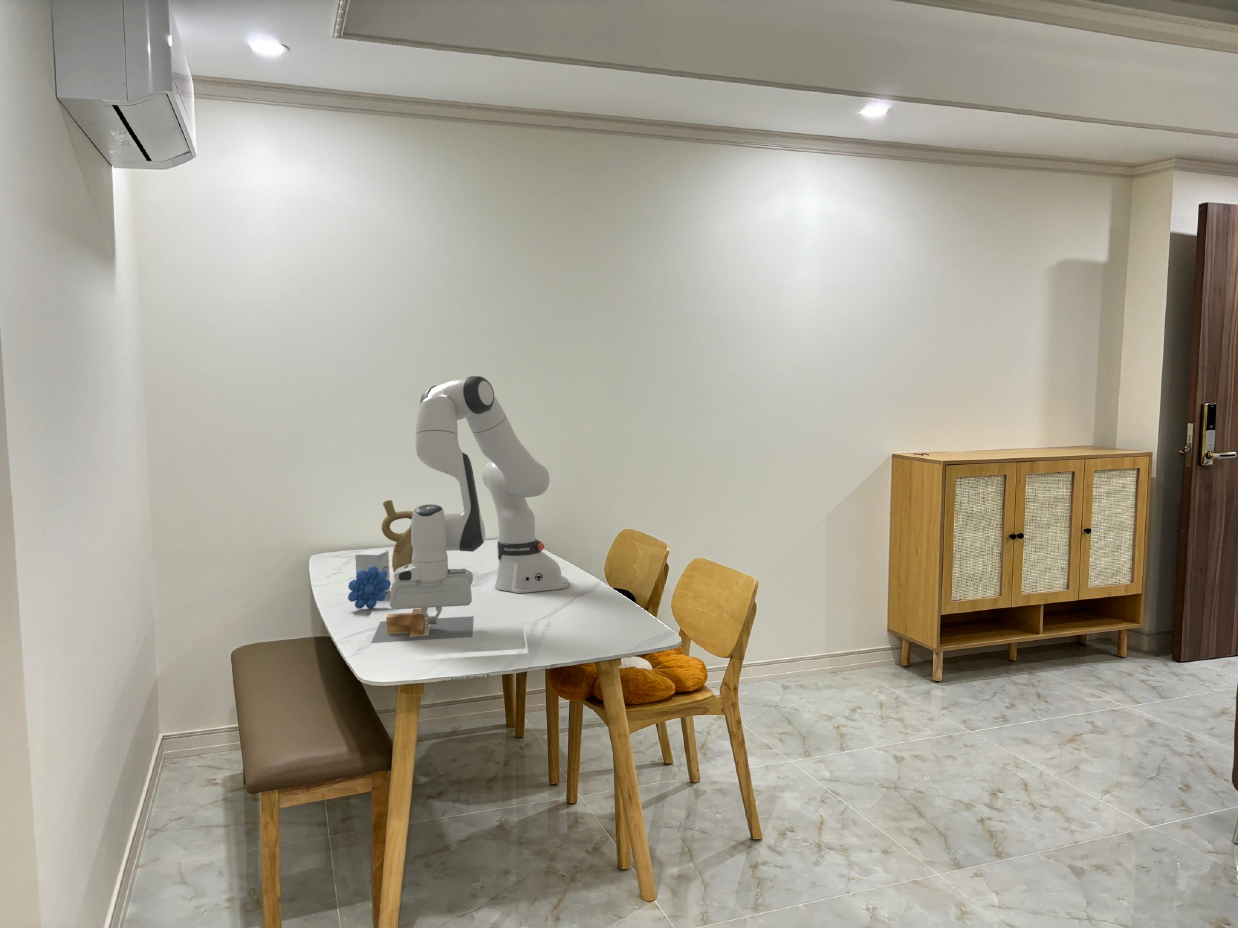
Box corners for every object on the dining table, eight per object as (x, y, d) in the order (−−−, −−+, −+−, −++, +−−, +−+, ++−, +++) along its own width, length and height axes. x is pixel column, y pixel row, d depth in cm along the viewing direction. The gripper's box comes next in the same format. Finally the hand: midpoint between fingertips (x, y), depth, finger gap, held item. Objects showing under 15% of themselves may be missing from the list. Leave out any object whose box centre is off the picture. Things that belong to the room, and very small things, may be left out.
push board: (473, 619, 227) (473, 616, 227) (472, 640, 209) (472, 636, 209) (380, 625, 223) (380, 621, 223) (371, 646, 205) (371, 642, 205)
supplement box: (379, 597, 251) (377, 555, 250) (356, 596, 253) (354, 554, 251) (391, 590, 259) (389, 549, 257) (368, 589, 260) (366, 549, 259)
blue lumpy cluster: (390, 602, 245) (388, 561, 244) (392, 608, 239) (390, 566, 238) (347, 606, 241) (345, 565, 240) (348, 613, 235) (346, 570, 234)
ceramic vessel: (449, 576, 276) (446, 500, 273) (386, 583, 268) (383, 504, 266) (440, 565, 291) (437, 493, 289) (380, 571, 284) (377, 497, 281)
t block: (425, 623, 221) (425, 608, 220) (423, 634, 211) (422, 619, 210) (389, 625, 219) (389, 610, 219) (385, 637, 209) (384, 621, 209)
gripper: (472, 565, 219) (474, 618, 221) (390, 569, 216) (392, 622, 217) (472, 570, 213) (473, 625, 214) (387, 575, 210) (389, 629, 211)
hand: (432, 623), depth 216 cm, fingers closed
